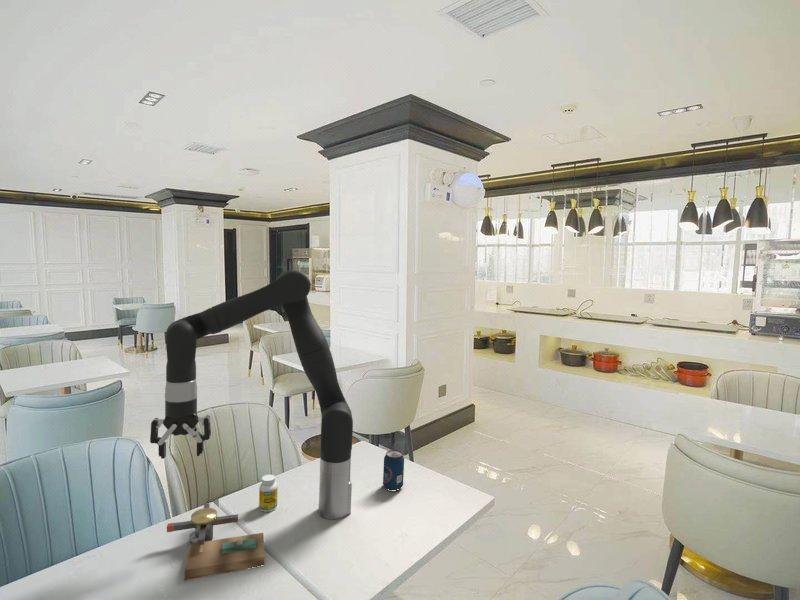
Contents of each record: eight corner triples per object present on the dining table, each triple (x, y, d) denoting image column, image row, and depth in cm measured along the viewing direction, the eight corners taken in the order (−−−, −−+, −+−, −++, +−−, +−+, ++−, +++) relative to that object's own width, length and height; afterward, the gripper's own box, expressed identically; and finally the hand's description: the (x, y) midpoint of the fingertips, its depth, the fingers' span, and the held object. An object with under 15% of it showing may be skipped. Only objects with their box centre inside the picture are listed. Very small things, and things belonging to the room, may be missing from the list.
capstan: (238, 517, 128) (238, 494, 127) (237, 554, 112) (237, 528, 112) (172, 526, 122) (172, 502, 122) (161, 566, 106) (161, 539, 106)
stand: (263, 541, 118) (263, 524, 118) (264, 566, 109) (264, 548, 108) (189, 553, 112) (189, 535, 112) (184, 580, 103) (184, 561, 102)
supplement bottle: (274, 501, 138) (274, 471, 137) (279, 509, 133) (280, 479, 133) (256, 505, 135) (257, 475, 134) (261, 514, 130) (262, 483, 130)
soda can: (378, 485, 150) (380, 451, 149) (395, 480, 154) (396, 447, 154) (390, 494, 145) (391, 459, 144) (407, 489, 149) (408, 454, 148)
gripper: (212, 391, 121) (212, 448, 122) (155, 393, 117) (155, 452, 118) (208, 399, 113) (207, 460, 115) (146, 402, 110) (147, 464, 111)
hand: (181, 456), depth 116 cm, fingers open, 8 cm apart
